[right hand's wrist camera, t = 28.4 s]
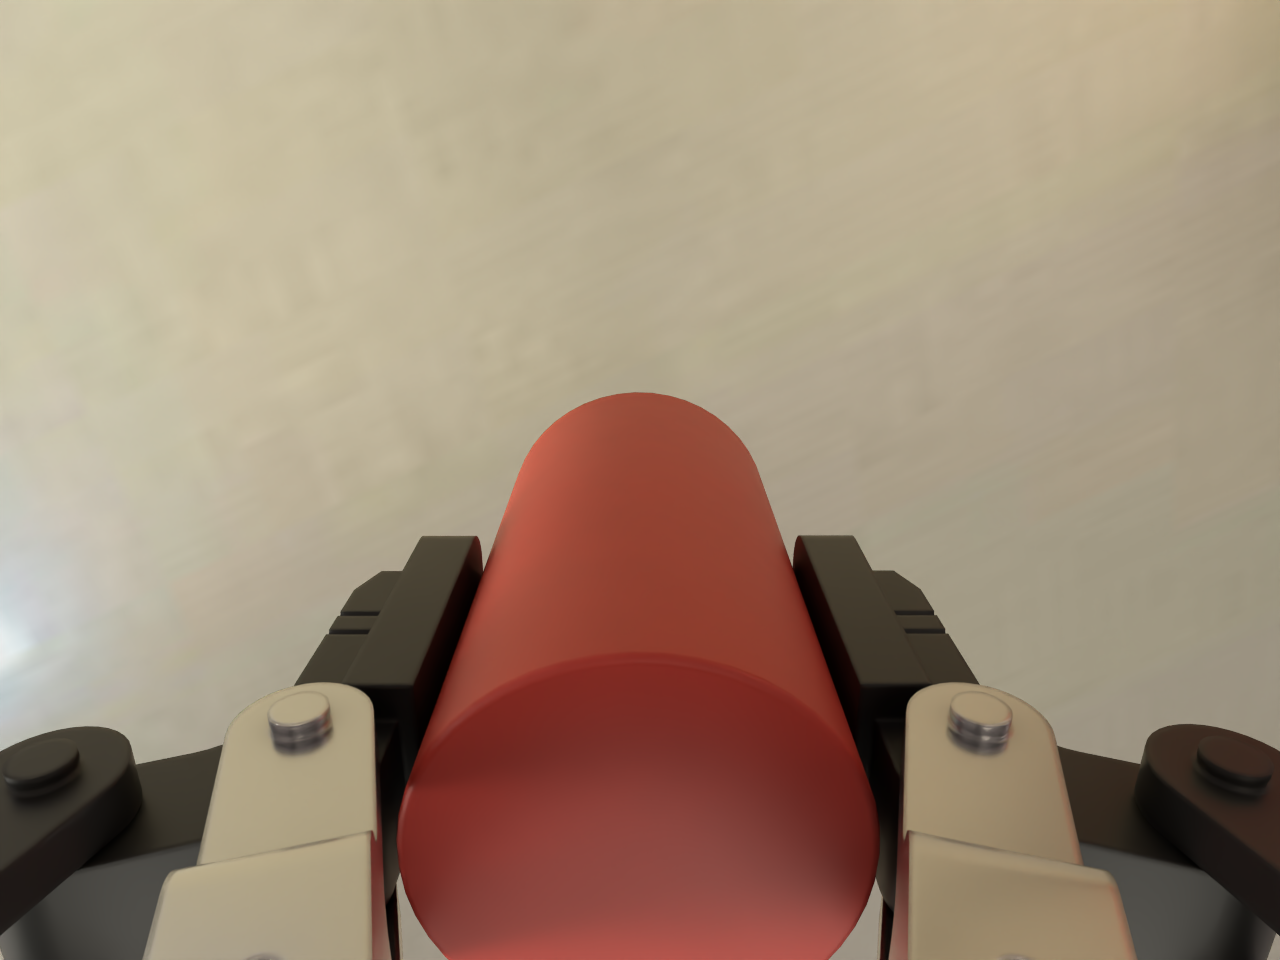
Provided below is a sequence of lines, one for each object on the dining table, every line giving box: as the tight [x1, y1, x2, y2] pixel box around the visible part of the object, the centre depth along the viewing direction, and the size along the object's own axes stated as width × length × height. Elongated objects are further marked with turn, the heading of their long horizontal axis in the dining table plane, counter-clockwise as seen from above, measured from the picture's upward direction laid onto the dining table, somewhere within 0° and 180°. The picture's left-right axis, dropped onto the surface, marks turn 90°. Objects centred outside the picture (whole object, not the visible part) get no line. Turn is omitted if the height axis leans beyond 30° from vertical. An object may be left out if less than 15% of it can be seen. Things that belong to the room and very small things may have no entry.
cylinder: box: [396, 392, 880, 960], centre depth 11 cm, size 4×4×8 cm
